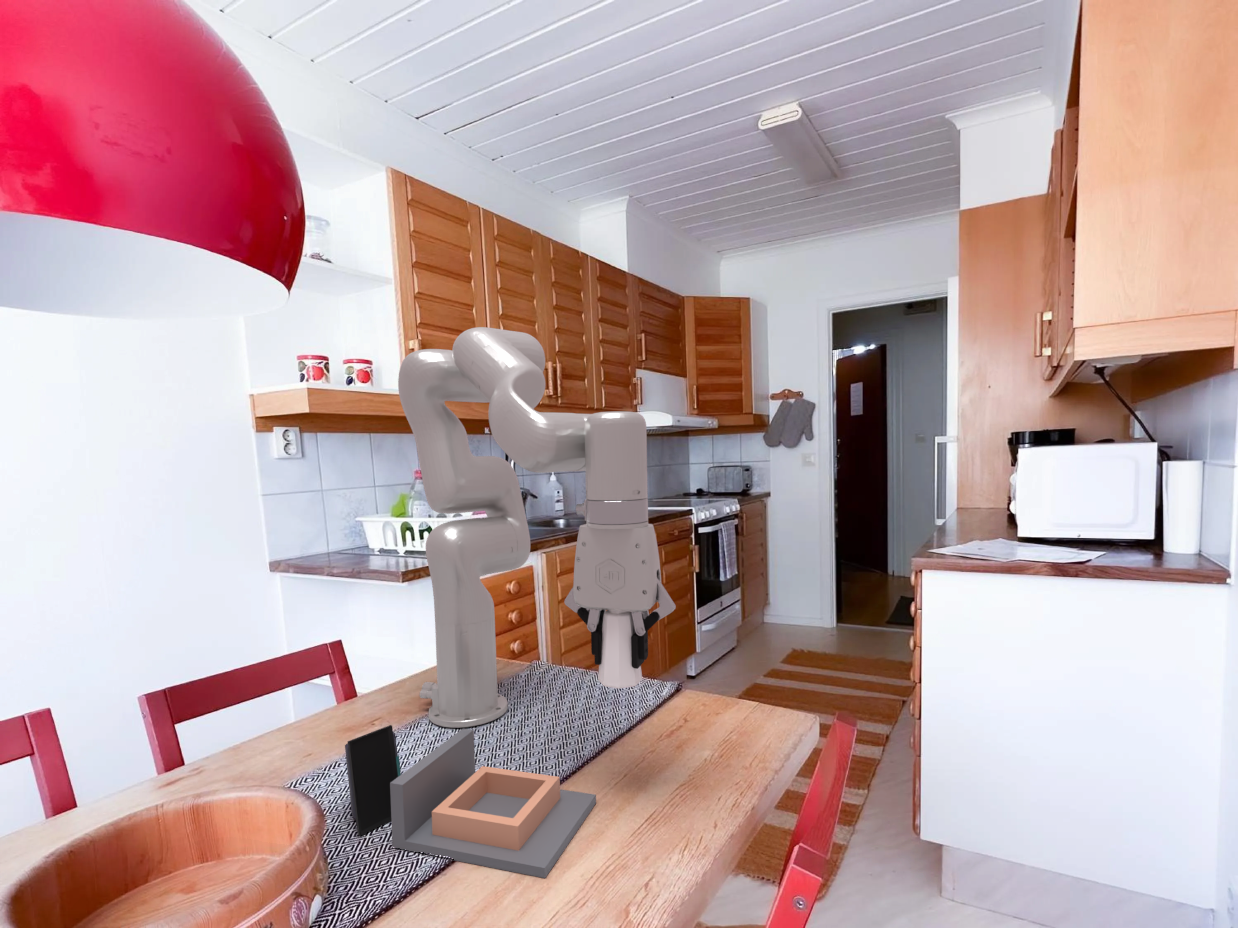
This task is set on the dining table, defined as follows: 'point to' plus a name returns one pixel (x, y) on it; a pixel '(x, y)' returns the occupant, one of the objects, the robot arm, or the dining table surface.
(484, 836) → the gray walled base stand
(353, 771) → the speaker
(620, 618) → the salt shaker
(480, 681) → the robot arm
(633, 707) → the dining table surface
